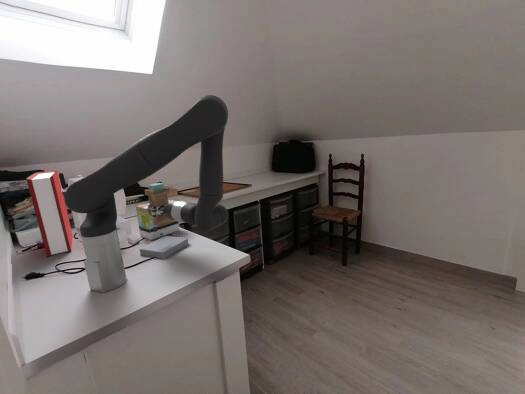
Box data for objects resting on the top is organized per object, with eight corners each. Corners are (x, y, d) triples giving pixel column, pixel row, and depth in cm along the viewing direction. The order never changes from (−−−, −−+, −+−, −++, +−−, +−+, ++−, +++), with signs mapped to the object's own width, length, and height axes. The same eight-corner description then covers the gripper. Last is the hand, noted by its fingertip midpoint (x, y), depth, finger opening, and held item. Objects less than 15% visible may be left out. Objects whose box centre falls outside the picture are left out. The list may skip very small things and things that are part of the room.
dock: (164, 258, 100) (163, 252, 99) (140, 254, 105) (139, 248, 104) (188, 244, 112) (187, 238, 112) (166, 241, 117) (165, 235, 117)
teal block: (164, 191, 103) (163, 183, 103) (155, 193, 100) (153, 185, 100) (159, 190, 106) (157, 183, 105) (149, 192, 103) (148, 185, 102)
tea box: (152, 240, 119) (146, 208, 115) (140, 236, 125) (134, 205, 121) (180, 230, 130) (176, 200, 127) (168, 226, 136) (164, 198, 133)
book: (71, 251, 112) (52, 175, 105) (47, 257, 108) (26, 178, 101) (72, 234, 135) (57, 170, 127) (52, 238, 131) (35, 172, 123)
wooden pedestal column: (174, 222, 106) (168, 187, 103) (159, 227, 102) (153, 191, 98) (165, 220, 110) (159, 186, 107) (150, 225, 106) (144, 190, 102)
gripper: (196, 196, 100) (170, 192, 111) (161, 205, 89) (136, 200, 100) (198, 215, 102) (173, 210, 112) (164, 227, 91) (139, 220, 102)
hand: (155, 205), depth 106 cm, fingers closed on wooden pedestal column, 5 cm apart
